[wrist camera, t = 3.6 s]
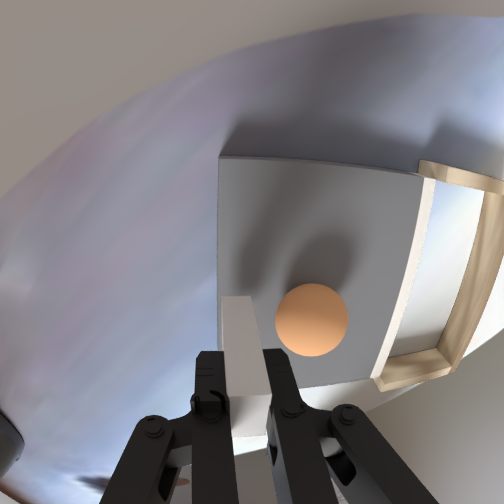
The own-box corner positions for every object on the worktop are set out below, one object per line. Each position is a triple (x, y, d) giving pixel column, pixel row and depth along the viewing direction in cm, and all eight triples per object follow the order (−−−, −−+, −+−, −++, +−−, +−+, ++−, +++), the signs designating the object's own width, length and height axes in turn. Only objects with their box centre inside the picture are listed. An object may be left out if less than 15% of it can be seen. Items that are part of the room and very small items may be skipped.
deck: (218, 374, 22) (219, 393, 20) (218, 155, 16) (219, 158, 14) (370, 361, 24) (379, 376, 22) (417, 173, 18) (435, 179, 16)
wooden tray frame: (367, 369, 24) (380, 392, 21) (419, 159, 17) (448, 166, 14) (439, 353, 25) (454, 371, 23) (493, 177, 18) (519, 186, 16)
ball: (266, 329, 18) (279, 374, 15) (272, 271, 17) (288, 311, 13) (327, 325, 19) (349, 366, 15) (338, 270, 17) (368, 306, 14)
